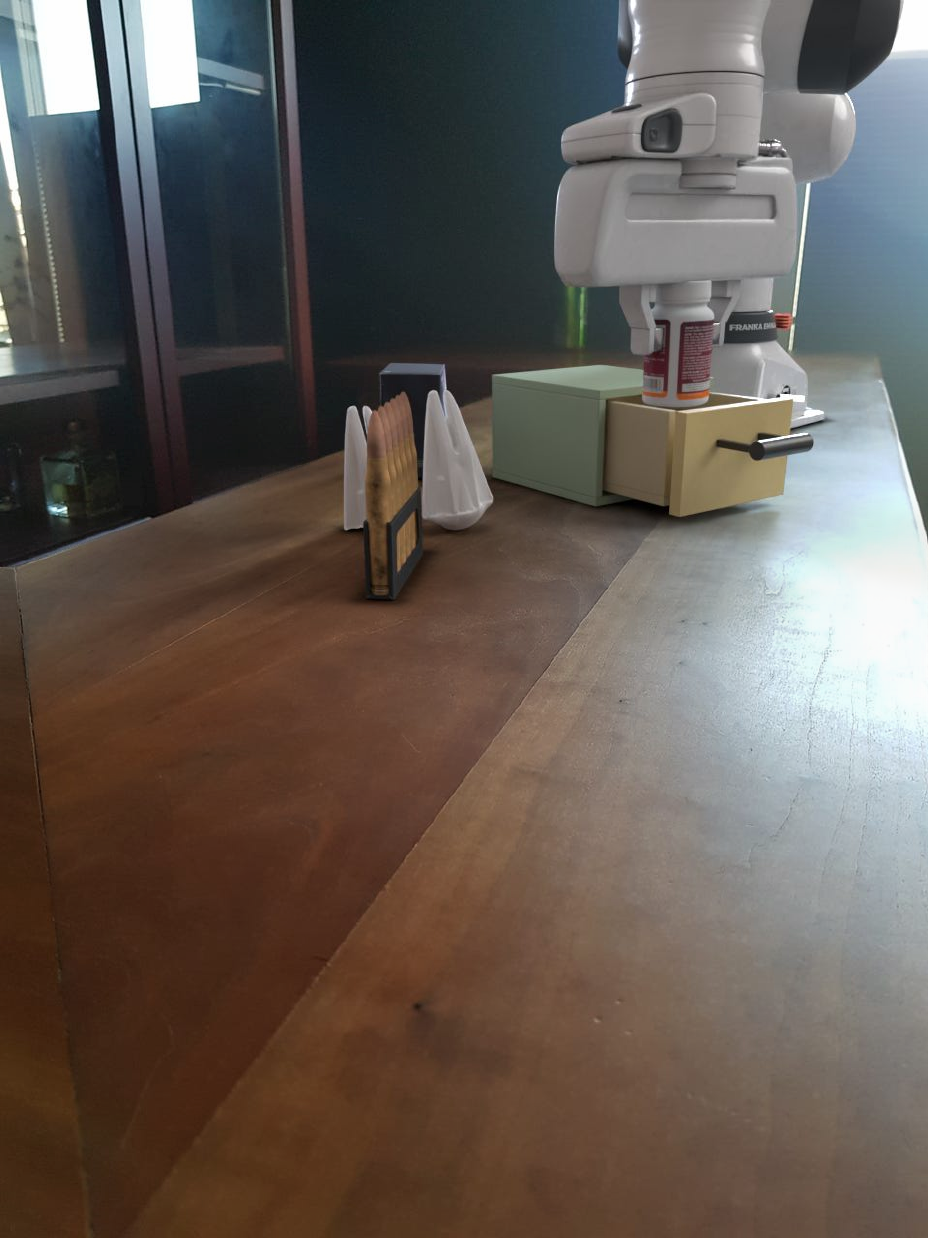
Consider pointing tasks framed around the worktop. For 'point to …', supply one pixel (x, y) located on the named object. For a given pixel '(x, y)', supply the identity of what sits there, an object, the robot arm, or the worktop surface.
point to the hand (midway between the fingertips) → (677, 350)
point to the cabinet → (558, 428)
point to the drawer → (699, 451)
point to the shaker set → (425, 468)
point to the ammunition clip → (391, 501)
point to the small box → (413, 394)
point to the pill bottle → (681, 346)
